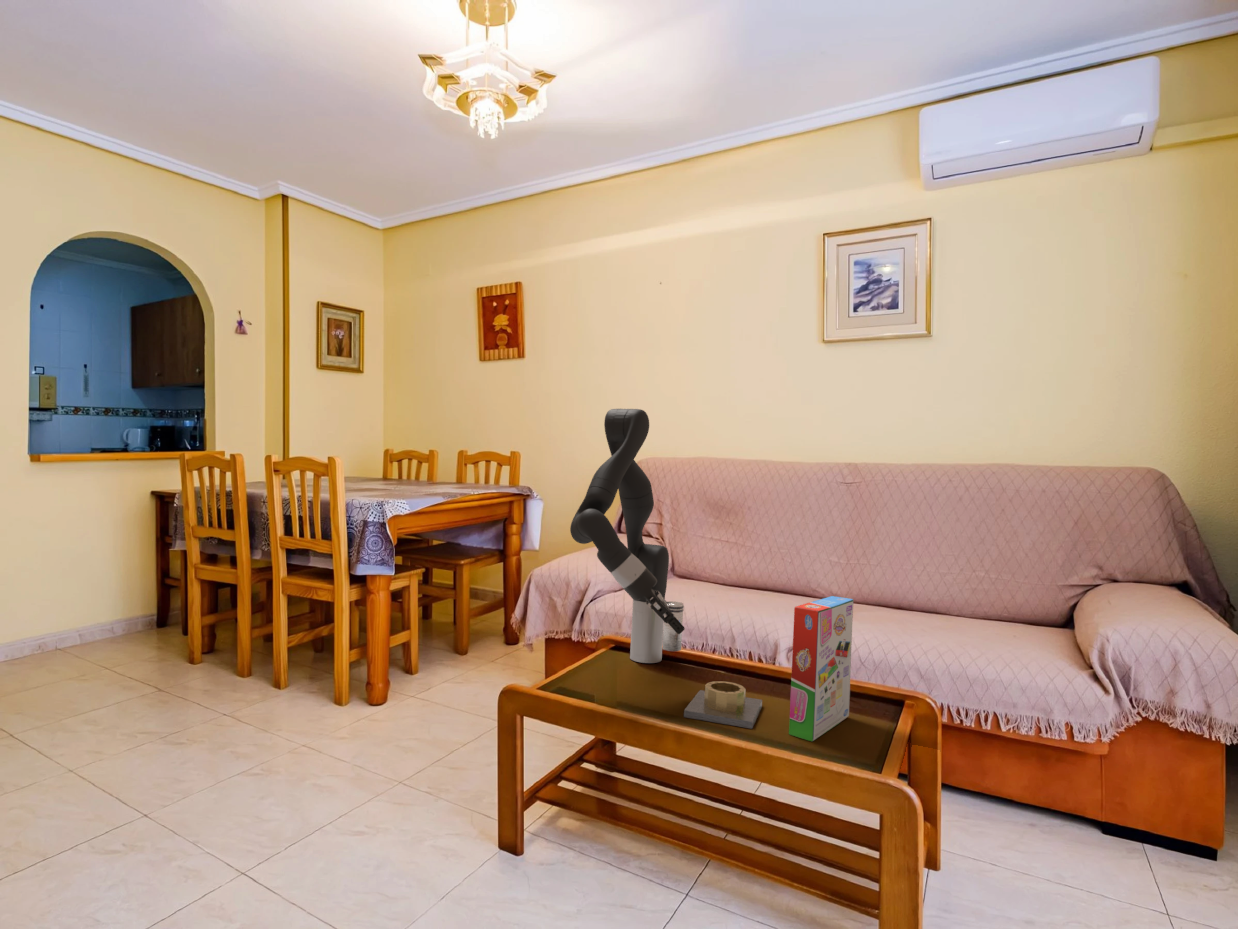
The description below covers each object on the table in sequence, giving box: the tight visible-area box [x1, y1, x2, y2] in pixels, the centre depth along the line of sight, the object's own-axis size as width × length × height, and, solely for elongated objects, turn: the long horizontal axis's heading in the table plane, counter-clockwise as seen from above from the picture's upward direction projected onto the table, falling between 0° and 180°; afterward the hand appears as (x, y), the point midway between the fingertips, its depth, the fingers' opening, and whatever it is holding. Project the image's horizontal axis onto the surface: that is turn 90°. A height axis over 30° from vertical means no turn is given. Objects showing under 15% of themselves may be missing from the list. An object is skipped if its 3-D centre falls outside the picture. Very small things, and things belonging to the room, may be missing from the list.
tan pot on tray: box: [683, 680, 763, 730], centre depth 153 cm, size 16×15×6 cm
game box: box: [788, 595, 854, 742], centre depth 147 cm, size 21×6×27 cm, turn 141°
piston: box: [662, 601, 685, 652], centre depth 161 cm, size 5×5×11 cm
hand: (680, 628), depth 161 cm, fingers closed on piston, 4 cm apart
